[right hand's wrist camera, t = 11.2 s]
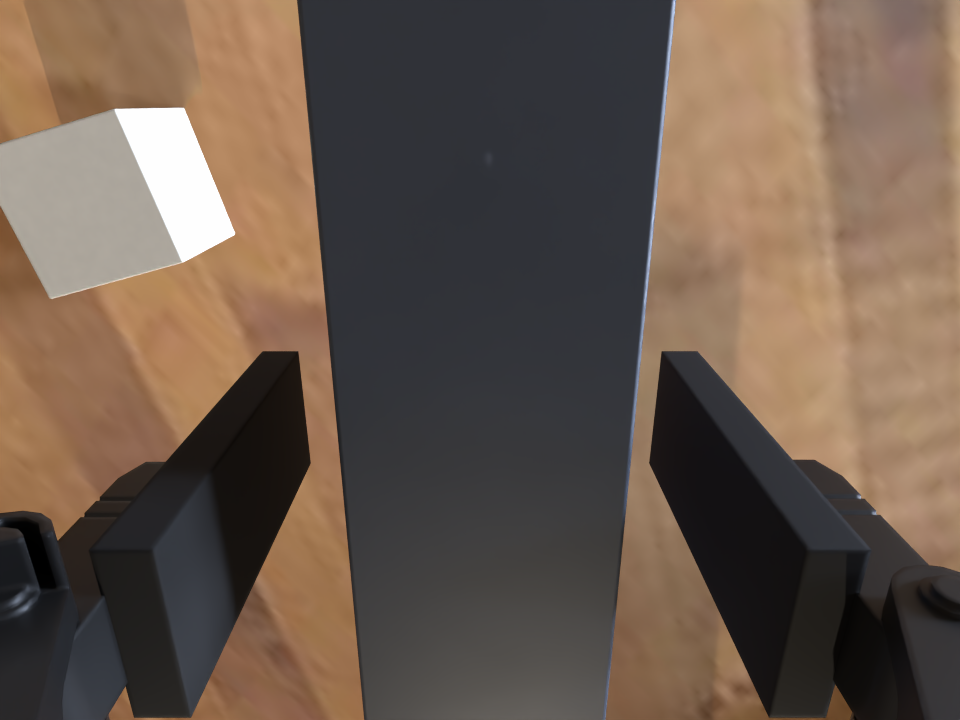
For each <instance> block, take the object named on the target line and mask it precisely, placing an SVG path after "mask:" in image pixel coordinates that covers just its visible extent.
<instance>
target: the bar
mask: <svg viewBox="0 0 960 720" xmlns="http://www.w3.org/2000/svg"><path fill="white" fill-rule="evenodd" d="M297 3H298V14H299V25H300V35H301V46H302V57H303V68H304V78H305V89H306V100H307V110H308V121H309V132H310V143H311V153H312V164H313V175H314V185H315V196H316V207H317V218H318V228H319V239H320V250H321V260H322V271H323V282H324V293H325V303H326V314H327V325H328V336H329V346H330V357H331V368H332V378H333V389H334V400H335V411H336V421H337V432H338V443H339V453H340V464H341V475H342V486H343V496H344V507H345V518H346V528H347V539H348V550H349V561H350V571H351V582H352V593H353V603H354V614H355V625H356V636H357V646H358V657H359V668H360V679H361V689H362V700H363V711H364V720H605V718H606V707H607V697H608V687H609V677H610V667H611V657H612V646H613V636H614V626H615V616H616V606H617V595H618V585H619V575H620V565H621V555H622V545H623V534H624V524H625V514H626V504H627V494H628V483H629V473H630V463H631V453H632V443H633V432H634V422H635V412H636V402H637V392H638V382H639V371H640V361H641V351H642V341H643V331H644V320H645V310H646V300H647V290H648V280H649V269H650V259H651V249H652V239H653V229H654V219H655V208H656V198H657V188H658V178H659V168H660V157H661V147H662V137H663V127H664V117H665V106H666V96H667V86H668V76H669V66H670V56H671V45H672V35H673V25H674V15H675V5H676V0H297Z"/></svg>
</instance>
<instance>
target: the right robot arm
mask: <svg viewBox="0 0 960 720" xmlns="http://www.w3.org/2000/svg"><path fill="white" fill-rule="evenodd" d="M310 463H311V462H310V453H309V444H308V435H307V426H306V417H305V408H304V399H303V390H302V381H301V372H300V363H299V354H298V351H263V352H262V353H261V354H260V355H259V356H258V357H257V358H256V360H255V361H254V362H253V363H252V364H251V365H250V366H249V367H248V369H247V370H246V371H245V372H244V373H243V374H242V375H241V377H240V378H239V379H238V380H237V381H236V382H235V383H234V385H233V386H232V387H231V388H230V389H229V390H228V391H227V393H226V394H225V395H224V396H223V397H222V398H221V399H220V401H219V402H218V403H217V404H216V405H215V406H214V407H213V409H212V410H211V411H210V412H209V413H208V414H207V415H206V417H205V418H204V419H203V420H202V421H201V422H200V423H199V425H198V426H197V427H196V428H195V429H194V430H193V431H192V433H191V434H190V435H189V436H188V437H187V438H186V439H185V441H184V442H183V443H182V444H181V445H180V446H179V447H178V449H177V450H176V451H175V452H174V453H173V454H172V455H171V456H170V458H169V459H168V460H167V461H166V462H145V463H143V464H142V465H140V466H138V467H137V468H135V469H133V470H132V471H130V472H128V473H126V474H125V475H123V476H121V477H120V478H118V479H117V480H116V481H115V482H114V483H113V484H112V485H111V486H110V487H109V488H108V489H107V490H106V492H105V493H104V494H103V495H102V496H101V497H100V501H96V502H95V503H94V504H93V505H92V506H91V507H90V508H89V509H88V510H87V511H86V512H85V516H84V517H80V518H79V519H78V521H77V522H76V523H75V524H74V525H73V526H72V527H71V528H70V529H69V530H68V531H67V532H66V533H65V534H64V535H63V536H62V537H61V538H60V539H59V540H58V541H57V538H56V534H55V531H54V527H53V524H52V521H51V520H50V519H49V518H47V517H46V516H44V515H43V514H41V513H36V512H28V511H17V512H8V513H0V720H110V719H109V715H108V714H109V712H110V711H111V709H112V707H113V706H114V704H115V702H116V701H117V699H118V697H119V696H120V694H121V693H122V691H123V689H124V688H125V686H126V689H127V693H128V697H129V700H130V704H131V708H132V711H133V715H134V718H191V716H192V714H193V712H194V710H195V708H196V706H197V704H198V701H199V699H200V697H201V695H202V693H203V691H204V689H205V687H206V684H207V682H208V680H209V678H210V676H211V674H212V672H213V670H214V667H215V665H216V663H217V661H218V659H219V657H220V655H221V653H222V650H223V648H224V646H225V644H226V642H227V640H228V638H229V636H230V633H231V631H232V629H233V627H234V625H235V623H236V621H237V619H238V616H239V614H240V612H241V610H242V608H243V606H244V604H245V602H246V599H247V597H248V595H249V593H250V591H251V589H252V587H253V585H254V582H255V580H256V578H257V576H258V574H259V572H260V570H261V568H262V565H263V563H264V561H265V559H266V557H267V555H268V553H269V551H270V548H271V546H272V544H273V542H274V540H275V538H276V536H277V534H278V531H279V529H280V527H281V525H282V523H283V521H284V519H285V517H286V514H287V512H288V510H289V508H290V506H291V504H292V502H293V500H294V497H295V495H296V493H297V491H298V489H299V487H300V485H301V483H302V480H303V478H304V476H305V474H306V472H307V470H308V468H309V466H310ZM649 463H650V466H651V468H652V470H653V472H654V474H655V476H656V478H657V480H658V483H659V485H660V487H661V489H662V491H663V493H664V495H665V497H666V500H667V502H668V504H669V506H670V508H671V510H672V512H673V514H674V517H675V519H676V521H677V523H678V525H679V527H680V529H681V531H682V534H683V536H684V538H685V540H686V542H687V544H688V546H689V548H690V551H691V553H692V555H693V557H694V559H695V561H696V563H697V565H698V568H699V570H700V572H701V574H702V576H703V578H704V580H705V582H706V585H707V587H708V589H709V591H710V593H711V595H712V597H713V599H714V602H715V604H716V606H717V608H718V610H719V612H720V614H721V616H722V619H723V621H724V623H725V625H726V627H727V629H728V631H729V633H730V636H731V638H732V640H733V642H734V644H735V646H736V648H737V650H738V653H739V655H740V657H741V659H742V661H743V663H744V665H745V667H746V670H747V672H748V674H749V676H750V678H751V680H752V682H753V684H754V687H755V689H756V691H757V693H758V695H759V697H760V699H761V701H762V704H763V706H764V708H765V710H766V712H767V714H768V716H769V718H826V715H827V711H828V708H829V704H830V700H831V697H832V693H833V689H834V686H835V684H836V686H837V688H838V689H839V691H840V692H841V694H842V696H843V697H844V699H845V701H846V702H847V704H848V705H849V707H850V709H851V710H852V715H851V719H850V720H960V572H957V571H954V570H951V569H947V568H944V567H938V566H930V565H928V564H927V563H926V562H925V561H924V560H923V559H922V558H921V557H920V556H919V555H918V554H917V552H916V551H915V550H914V549H913V548H912V547H911V546H910V545H909V544H908V543H907V542H906V541H905V540H904V539H903V538H902V537H901V536H900V535H899V534H898V533H897V532H896V531H895V530H894V529H893V528H892V527H891V526H890V525H889V524H888V523H887V522H886V521H885V520H884V519H883V517H882V516H881V515H876V510H875V509H874V508H873V507H872V506H871V505H870V504H869V503H868V502H867V501H866V500H865V499H861V495H860V494H859V493H858V492H857V491H856V490H855V489H854V488H853V487H852V486H851V485H850V484H849V483H848V481H847V480H846V479H845V478H844V477H843V476H841V475H840V474H838V473H836V472H834V471H833V470H831V469H829V468H828V467H826V466H824V465H822V464H821V463H819V462H817V461H816V460H792V459H791V458H790V456H789V455H788V454H787V453H786V452H785V451H784V450H783V448H782V447H781V446H780V445H779V444H778V443H777V442H776V441H775V439H774V438H773V437H772V436H771V435H770V434H769V433H768V431H767V430H766V429H765V428H764V427H763V426H762V425H761V423H760V422H759V421H758V420H757V419H756V418H755V417H754V415H753V414H752V413H751V412H750V411H749V410H748V409H747V407H746V406H745V405H744V404H743V403H742V402H741V401H740V399H739V398H738V397H737V396H736V395H735V394H734V393H733V391H732V390H731V389H730V388H729V387H728V386H727V385H726V383H725V382H724V381H723V380H722V379H721V378H720V377H719V375H718V374H717V373H716V372H715V371H714V370H713V369H712V367H711V366H710V365H709V364H708V363H707V362H706V361H705V359H704V358H703V357H702V356H701V355H700V354H699V353H698V351H662V354H661V363H660V372H659V381H658V390H657V399H656V408H655V417H654V426H653V435H652V444H651V453H650V462H649Z"/></svg>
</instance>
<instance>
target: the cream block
mask: <svg viewBox="0 0 960 720" xmlns="http://www.w3.org/2000/svg"><path fill="white" fill-rule="evenodd" d="M0 206H1V208H2V210H3V212H4V214H5V216H6V217H7V219H8V221H9V223H10V225H11V227H12V229H13V231H14V232H15V234H16V236H17V238H18V240H19V242H20V244H21V246H22V247H23V249H24V251H25V253H26V255H27V257H28V259H29V261H30V263H31V264H32V266H33V268H34V270H35V272H36V274H37V276H38V278H39V279H40V281H41V283H42V285H43V287H44V289H45V291H46V293H47V294H48V296H49V298H50V299H53V298H57V297H60V296H64V295H68V294H71V293H75V292H79V291H82V290H86V289H89V288H93V287H97V286H100V285H104V284H107V283H111V282H115V281H118V280H122V279H126V278H129V277H133V276H136V275H140V274H144V273H147V272H151V271H155V270H158V269H162V268H165V267H169V266H173V265H176V264H180V263H183V262H185V261H187V260H189V259H191V258H192V257H194V256H196V255H198V254H200V253H202V252H204V251H205V250H207V249H209V248H211V247H213V246H215V245H217V244H219V243H220V242H222V241H224V240H226V239H228V238H230V237H232V236H233V235H235V232H234V230H233V228H232V225H231V223H230V220H229V218H228V215H227V213H226V210H225V208H224V205H223V203H222V201H221V198H220V196H219V193H218V191H217V188H216V186H215V183H214V181H213V178H212V176H211V174H210V171H209V169H208V166H207V164H206V161H205V159H204V156H203V154H202V151H201V149H200V147H199V144H198V142H197V139H196V137H195V134H194V132H193V129H192V127H191V124H190V122H189V120H188V117H187V115H186V112H185V110H184V108H130V109H112V110H109V111H105V112H102V113H99V114H95V115H92V116H89V117H86V118H82V119H79V120H76V121H72V122H69V123H66V124H63V125H59V126H56V127H53V128H49V129H46V130H43V131H40V132H36V133H33V134H30V135H26V136H23V137H20V138H17V139H13V140H10V141H7V142H3V143H0Z"/></svg>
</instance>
